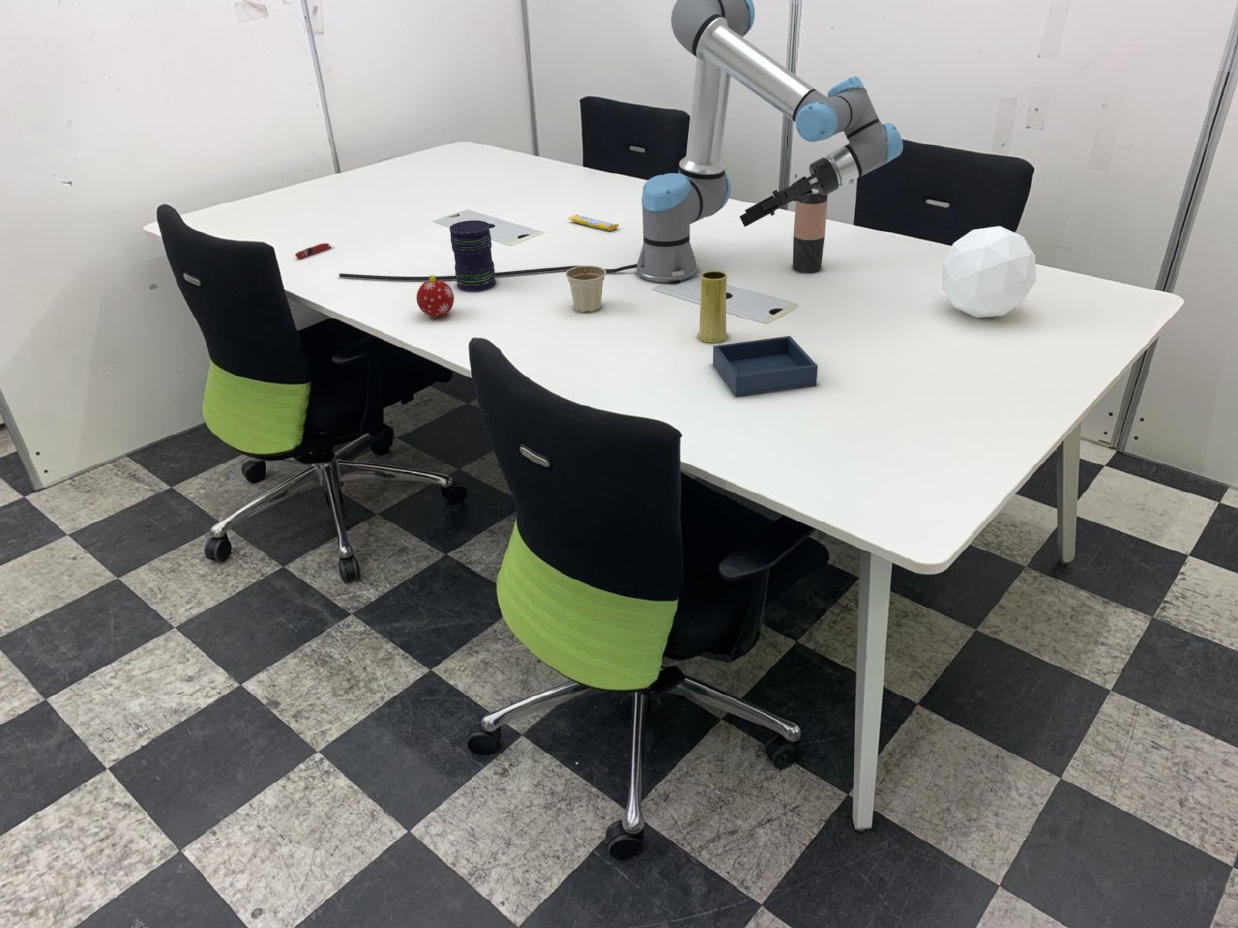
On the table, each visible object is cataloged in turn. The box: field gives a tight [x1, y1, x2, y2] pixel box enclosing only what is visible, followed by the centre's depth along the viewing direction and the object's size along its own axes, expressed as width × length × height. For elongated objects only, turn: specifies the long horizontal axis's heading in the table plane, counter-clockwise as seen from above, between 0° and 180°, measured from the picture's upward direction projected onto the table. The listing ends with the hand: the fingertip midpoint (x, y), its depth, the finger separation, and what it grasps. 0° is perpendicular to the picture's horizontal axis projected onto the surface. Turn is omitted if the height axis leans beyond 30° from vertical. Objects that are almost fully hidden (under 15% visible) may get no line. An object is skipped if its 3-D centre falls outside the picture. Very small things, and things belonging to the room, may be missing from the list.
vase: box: [698, 270, 728, 344], centre depth 199 cm, size 6×6×14 cm
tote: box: [712, 335, 819, 398], centre depth 186 cm, size 17×15×4 cm
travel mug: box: [792, 187, 829, 274], centre depth 230 cm, size 8×8×20 cm
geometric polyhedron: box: [941, 225, 1037, 319], centre depth 204 cm, size 19×20×20 cm
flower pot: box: [565, 265, 607, 313], centre depth 217 cm, size 9×9×9 cm
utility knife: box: [294, 242, 332, 260], centre depth 259 cm, size 12×1×2 cm, turn 143°
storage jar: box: [449, 219, 497, 293], centre depth 231 cm, size 10×10×15 cm
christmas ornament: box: [416, 274, 455, 318], centre depth 216 cm, size 9×9×10 cm
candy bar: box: [568, 214, 620, 232], centre depth 270 cm, size 17×4×2 cm, turn 49°
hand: (744, 219), depth 205 cm, fingers open, 13 cm apart
